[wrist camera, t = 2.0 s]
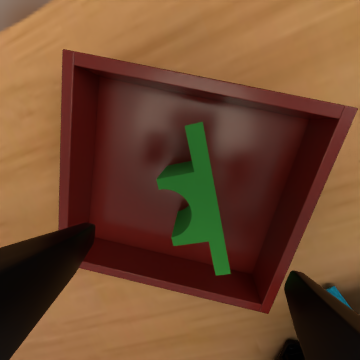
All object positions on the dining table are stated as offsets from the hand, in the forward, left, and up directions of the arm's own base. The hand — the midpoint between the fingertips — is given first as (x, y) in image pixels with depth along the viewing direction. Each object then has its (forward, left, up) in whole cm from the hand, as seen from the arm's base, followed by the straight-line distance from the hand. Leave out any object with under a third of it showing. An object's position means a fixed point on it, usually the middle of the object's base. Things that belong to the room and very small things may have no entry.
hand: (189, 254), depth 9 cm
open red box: (+1, 0, -10) cm, 10 cm away
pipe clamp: (0, 0, -10) cm, 10 cm away
